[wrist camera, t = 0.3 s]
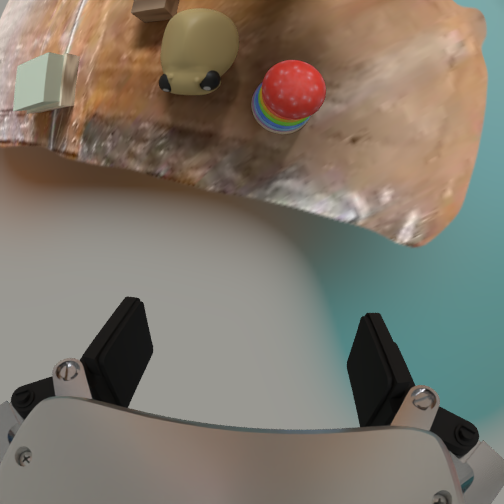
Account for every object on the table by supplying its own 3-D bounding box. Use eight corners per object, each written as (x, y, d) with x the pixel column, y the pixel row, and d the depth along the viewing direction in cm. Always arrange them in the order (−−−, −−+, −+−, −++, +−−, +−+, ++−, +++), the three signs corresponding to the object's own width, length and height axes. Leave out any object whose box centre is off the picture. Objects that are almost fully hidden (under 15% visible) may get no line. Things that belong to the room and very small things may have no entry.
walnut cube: (150, -2, 27) (137, -14, 23) (180, -7, 27) (170, -20, 23) (145, 22, 29) (131, 12, 25) (175, 19, 29) (164, 7, 25)
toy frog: (166, 98, 35) (132, 90, 25) (179, 25, 30) (152, -2, 20) (234, 103, 35) (220, 92, 25) (247, 27, 30) (239, -5, 20)
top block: (32, 67, 28) (17, 66, 25) (64, 55, 28) (48, 52, 24) (28, 109, 31) (13, 111, 28) (59, 101, 31) (43, 101, 28)
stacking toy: (260, 139, 36) (249, 145, 19) (245, 85, 33) (222, 47, 16) (316, 128, 35) (355, 125, 18) (302, 74, 32) (328, 28, 15)
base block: (45, 67, 32) (32, 65, 28) (81, 56, 32) (67, 53, 28) (41, 112, 35) (26, 113, 32) (75, 105, 35) (60, 105, 32)
